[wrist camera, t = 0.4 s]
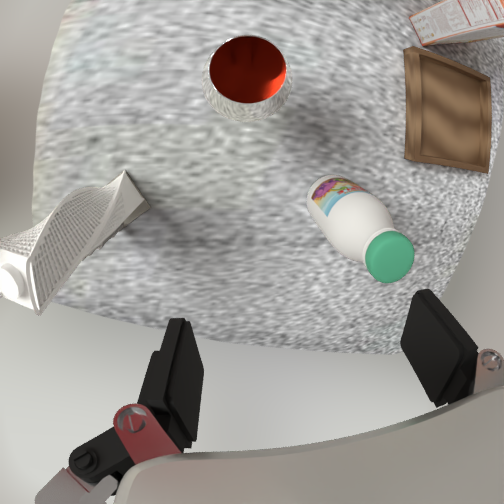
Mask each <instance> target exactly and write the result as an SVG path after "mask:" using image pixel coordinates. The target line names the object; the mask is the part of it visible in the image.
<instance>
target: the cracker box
mask: <svg viewBox="0 0 504 504" xmlns="http://www.w3.org/2000/svg"><path fill="white" fill-rule="evenodd" d="M409 19H410V21H411V23H412V25H413V27H414V29H415V31H416V33H417V35H418V37H419V39H420V42H421V44H422V46H429V45H439V44H450V43H468V42H476V41H482V40H487V39H493V38H500V37H504V0H443V1H441V2H438V3H436V4H434V5H432V6H430V7H428V8H426V9H424V10H422V11H420V12H418V13H416V14H414V15H412V16H410V17H409Z"/></svg>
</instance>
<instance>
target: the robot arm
mask: <svg viewBox="0 0 504 504" xmlns="http://www.w3.org/2000/svg"><path fill="white" fill-rule="evenodd" d="M400 344H401V348H402V350H403V351H404V353H405V355H406V357H407V358H408V360H409V362H410V364H411V365H412V367H413V369H414V371H415V373H416V375H417V377H418V378H419V380H420V382H421V384H422V386H423V388H424V390H425V392H426V394H427V395H428V397H429V399H430V401H431V402H434V404H435V406H436V407H439V406H442V405H444V404H446V403H448V405H447V406H444V407H442V408H439V409H437V410H434V411H432V412H429V413H426V414H424V415H421V416H418V417H415V418H412V419H409V420H406V421H403V422H400V423H397V424H394V425H390V426H387V427H384V428H380V429H377V430H373V431H369V432H365V433H361V434H358V435H353V436H348V437H344V438H339V439H334V440H329V441H323V442H318V443H312V444H305V445H298V446H291V447H283V448H273V449H260V450H248V451H227V452H196V453H195V452H194V453H183V452H184V448H191V446H192V441H194V442H195V441H196V440H197V431H198V421H199V412H200V402H201V394H202V385H203V376H204V368H203V364H202V361H201V358H200V355H199V351H198V347H197V344H196V341H195V337H194V334H193V330H192V327H191V323H190V321H186V320H185V318H171V319H170V320H169V323H168V326H167V329H166V332H165V336H164V339H163V343H162V345H161V349H160V351H154V352H153V353H152V356H151V359H150V362H149V365H148V369H147V372H146V375H145V378H144V382H143V385H142V388H141V392H140V395H139V399H138V402H137V404H128V405H126V406H123V407H122V408H121V409H119V410H118V411H117V413H116V414H115V416H114V419H113V425H114V427H112V428H110V429H109V430H107V431H105V432H104V433H102V434H100V435H99V436H97V437H95V438H93V439H92V440H90V441H88V442H86V443H84V444H83V445H81V446H79V447H77V448H76V449H75V450H73V452H72V453H71V454H70V457H69V466H68V467H67V469H65V468H62V469H61V470H60V471H59V472H58V473H57V474H56V475H55V476H54V477H53V478H52V479H51V480H50V481H49V482H48V483H47V484H46V485H45V486H44V487H43V488H42V489H41V490H40V491H39V492H38V494H37V495H36V497H35V504H106V502H105V501H106V500H107V499H108V498H109V497H110V496H114V495H116V496H115V500H114V504H504V360H503V357H502V356H501V355H500V354H499V353H498V352H497V351H495V350H492V349H484V350H482V351H481V352H480V353H478V352H477V349H478V346H477V345H476V344H475V342H474V341H473V340H472V339H471V337H470V336H469V335H468V334H467V332H466V331H465V330H464V329H463V327H462V326H461V325H460V324H459V322H458V321H457V320H456V319H455V318H454V316H453V315H452V314H451V313H450V312H449V310H448V309H447V308H446V307H445V306H444V305H443V304H442V303H441V301H440V300H439V299H438V298H437V297H436V296H435V294H434V293H433V292H432V291H431V290H430V289H424V290H419V291H417V292H416V293H415V295H413V297H412V301H411V305H410V309H409V313H408V316H407V320H406V324H405V327H404V331H403V334H402V337H401V341H400Z"/></svg>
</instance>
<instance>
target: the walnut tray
mask: <svg viewBox="0 0 504 504" xmlns="http://www.w3.org/2000/svg"><path fill="white" fill-rule="evenodd" d="M403 52H404V65H405V84H406V135H405V155H404V158H405V159H409V160H412V161H416V162H424V163H431V164H438V165H444V166H450V167H456V168H462V169H467V170H472V171H477V172H482V173H487V174H488V171H489V162H490V149H491V126H492V107H491V84H490V77H488V76H486V75H484V74H482V73H480V72H478V71H475V70H473V69H471V68H469V67H467V66H465V65H462V64H460V63H458V62H455V61H453V60H450V59H448V58H445V57H443V56H440V55H438V54H435V53H432V52H429V51H426V50H423V49H420V48H417V47H414V46H412V47H409V48H406V49H403Z"/></svg>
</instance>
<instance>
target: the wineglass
mask: <svg viewBox="0 0 504 504" xmlns="http://www.w3.org/2000/svg"><path fill="white" fill-rule="evenodd" d="M202 89H203V93H204V96H205V98H206V100H207V101H208V103H209V104H210V106H211V107H212V108H213V109H214V110H215V111H216V112H218V113H219V114H221V115H222V116H224V117H226V118H228V119H231V120H235V121H239V122H254V121H259V120H262V119H265V118H267V117H269V116H271V115H273V114H274V113H276V112H277V111H278V110H279V109H280V108H281V107H282V106H283V105H284V104H285V102H286V101H287V99H288V97H289V95H290V92H291V89H292V72H291V68H290V65H289V63H288V61H287V59H286V57H285V56H284V54H283V53H282V52H281V50H280V49H279V48H278V47H277V46H276V45H275V44H274V43H272V42H271V41H269V40H267V39H265V38H262V37H259V36H254V35H242V36H237V37H234V38H231V39H229V40H227V41H225V42H224V43H222V44H221V45H220V46H219V47H218V48H216V49H215V51H214V52H213V53H212V54H211V55H210V57H209V58H208V60H207V61H206V63H205V66H204V68H203V72H202Z"/></svg>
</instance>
